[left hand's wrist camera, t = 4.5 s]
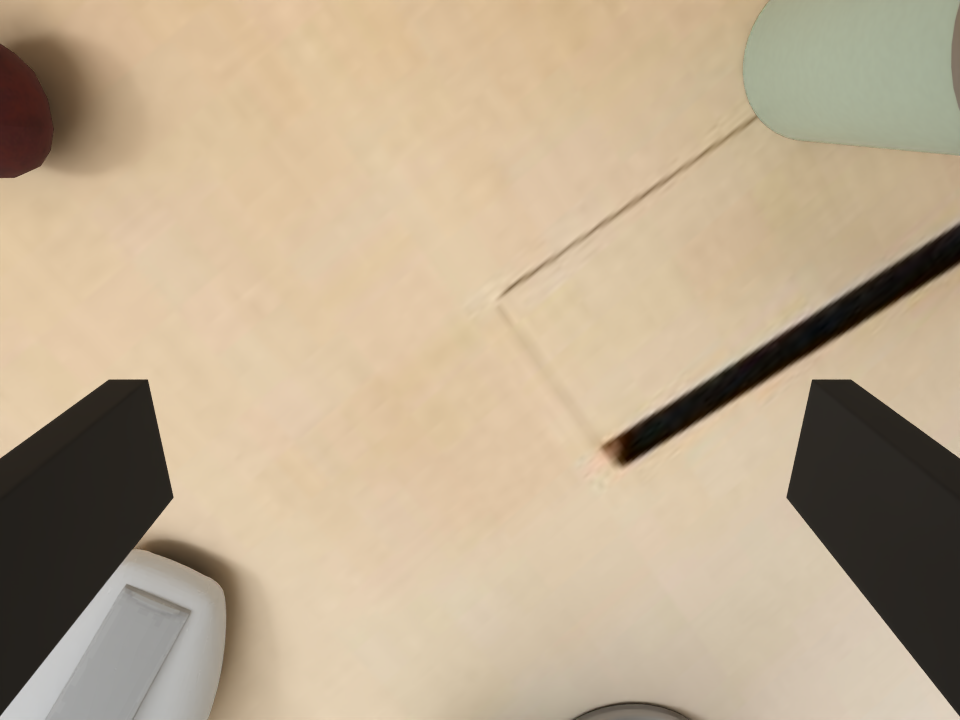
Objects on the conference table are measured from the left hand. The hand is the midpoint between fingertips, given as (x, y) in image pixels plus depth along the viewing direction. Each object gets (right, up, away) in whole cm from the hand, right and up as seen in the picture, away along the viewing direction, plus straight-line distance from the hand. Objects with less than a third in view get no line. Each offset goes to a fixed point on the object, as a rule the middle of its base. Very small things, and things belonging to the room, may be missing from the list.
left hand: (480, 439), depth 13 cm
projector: (-29, -22, +39) cm, 53 cm away
